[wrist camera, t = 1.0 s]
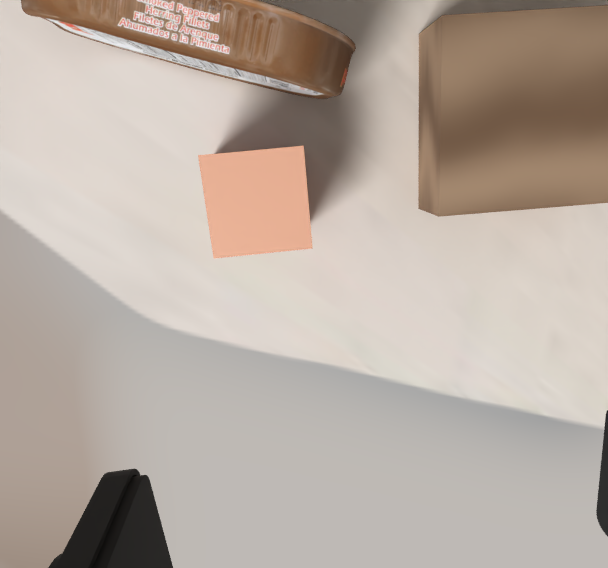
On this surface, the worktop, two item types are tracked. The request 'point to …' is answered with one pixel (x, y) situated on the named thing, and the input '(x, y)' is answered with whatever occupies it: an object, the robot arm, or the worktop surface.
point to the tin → (215, 38)
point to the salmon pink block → (256, 201)
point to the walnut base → (513, 110)
